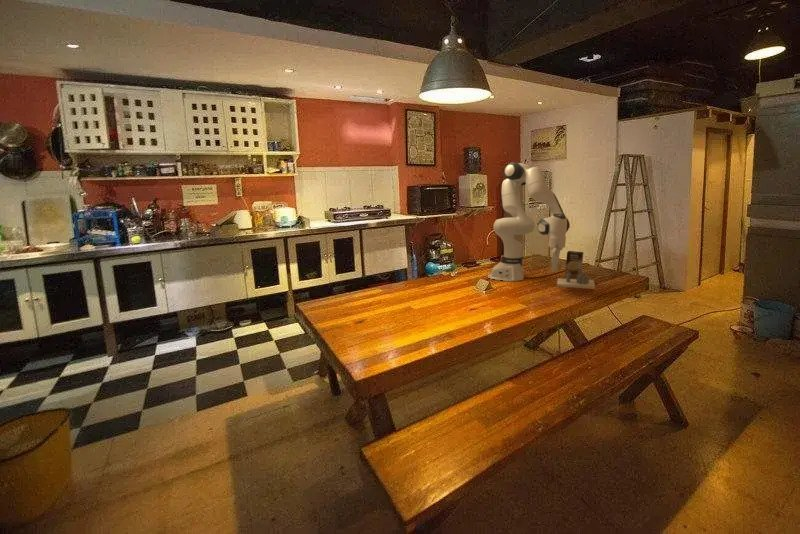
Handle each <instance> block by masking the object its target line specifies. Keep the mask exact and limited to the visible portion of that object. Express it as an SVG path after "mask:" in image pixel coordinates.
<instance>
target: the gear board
mask: <svg viewBox="0 0 800 534" xmlns="http://www.w3.org/2000/svg"><path fill="white" fill-rule="evenodd" d="M570 276H571V273H567V277H566V278H560V277H559V278H558V277H557V282H556V286H557V287H563V288H575V289H576V288H577V289H588V290H589V289H591V290H595V289H596V285H595V284H596V283H595V281H594V280H591V279H590V275H588V274H586V273H585V272H583V273H582V274H580V275H577V278H570Z"/></svg>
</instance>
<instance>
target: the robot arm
mask: <svg viewBox="0 0 800 534" xmlns="http://www.w3.org/2000/svg"><path fill="white" fill-rule="evenodd" d="M503 170H504V171H503V174H504V177H505V178H506V179H504V180H503V181H502V183H501V202H502V203H501V204H502V208H503V210H504V211H505V212H507V213H509V214H510V215H511V216H510V217H502V218H498V219H496V220H495V221H494V223H493V231H494V233H495V234H496V235H497V236H498V237H499V238H500V239H501V241H502V243H503V254H502V255H501V256H500V262H498V263H497V264H495V265H494V266H493V267H492V268H491V273H489V274H488V275H487V279H488V278H490V279H489V280H492V279H495V280H494V281H500V280H503V281H502V282H508V281H509V283H510V282H518V281H519V282H520V281H522V280H524V279H525V277H524V271H523V266H524V265H523V264H524V257H523V244H522V242H520V240H519V241H518V240H516V239H515V235H516V236H519V235H520V236H521V235H528V234H531V233H533V232H534V230H535V227H536V224H535V221H534V219H533V218H532V217H530V216H529V215H528V214H527V213H526V211H525V210H524V209H523V206H522V205H523V204H522V200H521V192H520V187H521V186H526V190H527V193H528V195H529V197H530V198H531V199H532V200H534V201H537V202H540V203H544V204H545V205H546V206H548V207H549V209H550V211H551V213H552V215H551V216H549V217H544V218H542V219H540V220H538V223H537V231H538V233H539V234H540V235H543V236H549V237H548V245H547V246H548V247H549V248H550V250H552V251H551V252H552V255H551V261H552V263H553V269H556V267H557V264H558V263H559V262H560V254H561V251H563V249H564V248H566V242H567V241H566V239H567V237H566V235H567V232H568V231H569V229H570V228H571V227H570V225H571V223H570V221H569V219H568V217H567V216H566V214H565V213H564V211H563V208H562V206H561V204H560V202H559V200H558V198H557V196H556V194H555V193H554V192H552V190H551V189H550V188H549V186H548V185H547V182H546V177H545V176H544V174H543V171H542V169H541V168H539V167H538V166H532V165H529V164H525V163H520V162H515V161H513V162H512V161H511V162H509V163H507V164H506V165H505V167H504V169H503Z"/></svg>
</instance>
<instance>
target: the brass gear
mask: <svg viewBox="0 0 800 534" xmlns="http://www.w3.org/2000/svg"><path fill="white" fill-rule="evenodd" d="M548 263H549V265H548V270H549V271H553V272H559V271H560V272H561V271H562V262H560V261H559V263H558V264H557V267H556V269H553V263H552V260H551V261H549V262H548Z"/></svg>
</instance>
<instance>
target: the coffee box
mask: <svg viewBox="0 0 800 534" xmlns="http://www.w3.org/2000/svg"><path fill="white" fill-rule="evenodd" d="M583 260H584V251H573V250H568V251H567V253H566V261H565V275H564V277H565V278H567V273H571V276H570V279H577V275H580V274H582V271H583V262H584V261H583Z"/></svg>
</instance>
